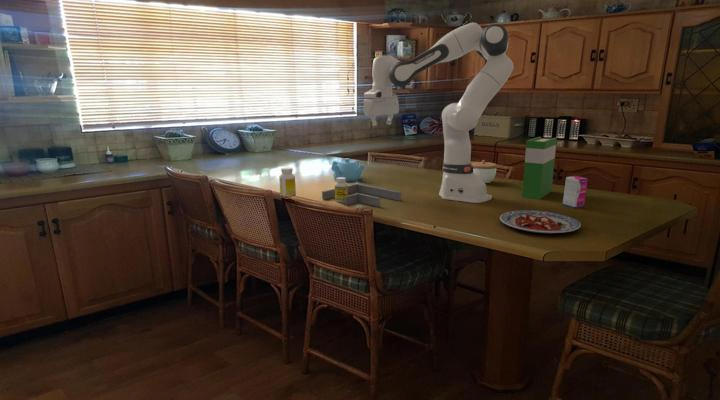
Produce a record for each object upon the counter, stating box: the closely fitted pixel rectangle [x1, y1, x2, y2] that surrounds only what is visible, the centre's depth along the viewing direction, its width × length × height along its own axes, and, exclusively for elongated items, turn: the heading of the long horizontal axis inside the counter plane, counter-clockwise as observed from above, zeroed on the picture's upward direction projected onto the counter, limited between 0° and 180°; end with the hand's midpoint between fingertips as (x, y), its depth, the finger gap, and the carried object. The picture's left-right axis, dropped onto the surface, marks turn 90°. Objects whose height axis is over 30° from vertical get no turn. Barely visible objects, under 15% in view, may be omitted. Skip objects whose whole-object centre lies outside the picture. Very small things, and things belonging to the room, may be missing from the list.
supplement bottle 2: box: [334, 177, 349, 203], centre depth 195 cm, size 5×5×10 cm
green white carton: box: [521, 136, 557, 200], centre depth 203 cm, size 18×7×24 cm, turn 144°
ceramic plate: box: [499, 209, 582, 234], centre depth 161 cm, size 26×26×3 cm
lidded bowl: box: [470, 159, 498, 184], centre depth 229 cm, size 13×13×11 cm
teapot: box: [330, 157, 366, 183], centre depth 238 cm, size 15×15×11 cm
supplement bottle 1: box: [278, 167, 297, 197], centre depth 200 cm, size 7×7×13 cm
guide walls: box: [321, 183, 402, 208], centre depth 197 cm, size 25×21×4 cm
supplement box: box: [562, 175, 589, 209], centre depth 185 cm, size 6×6×12 cm
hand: (381, 125), depth 210 cm, fingers open, 8 cm apart
